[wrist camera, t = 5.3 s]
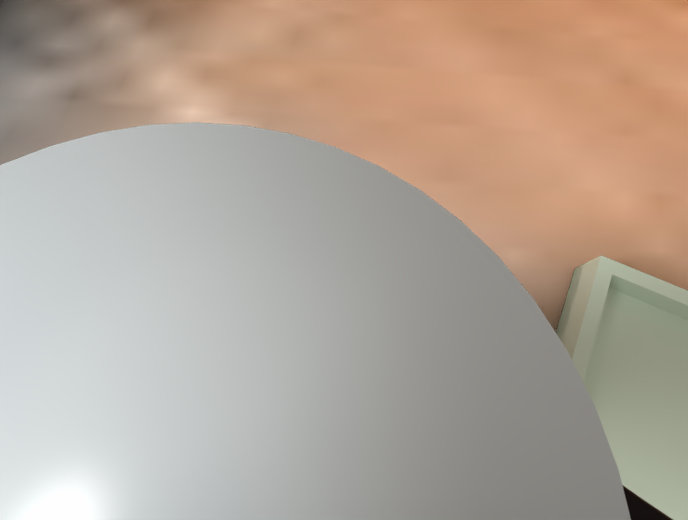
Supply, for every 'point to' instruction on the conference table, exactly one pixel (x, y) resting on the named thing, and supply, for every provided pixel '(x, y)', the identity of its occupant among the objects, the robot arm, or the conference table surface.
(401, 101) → the conference table surface
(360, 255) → the white rounded capsule
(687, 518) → the tray
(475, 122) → the conference table surface
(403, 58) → the conference table surface
